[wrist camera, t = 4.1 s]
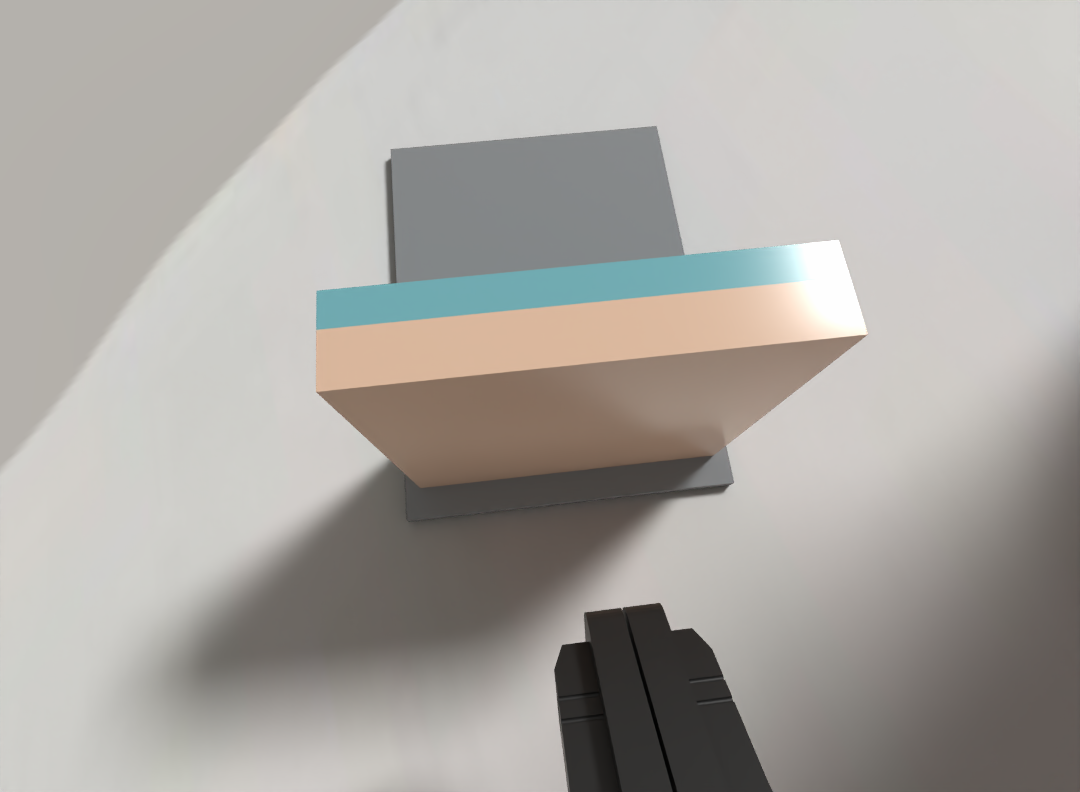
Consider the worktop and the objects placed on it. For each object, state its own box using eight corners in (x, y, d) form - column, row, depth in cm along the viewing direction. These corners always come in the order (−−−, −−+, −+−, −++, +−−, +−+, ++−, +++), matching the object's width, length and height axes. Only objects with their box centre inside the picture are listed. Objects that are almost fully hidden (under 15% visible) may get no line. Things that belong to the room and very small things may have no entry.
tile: (701, 399, 21) (838, 240, 12) (713, 455, 20) (868, 334, 11) (417, 430, 21) (316, 290, 11) (420, 488, 20) (316, 392, 10)
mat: (654, 133, 25) (656, 126, 25) (730, 484, 20) (734, 482, 20) (393, 156, 25) (390, 149, 24) (409, 521, 20) (406, 519, 20)
